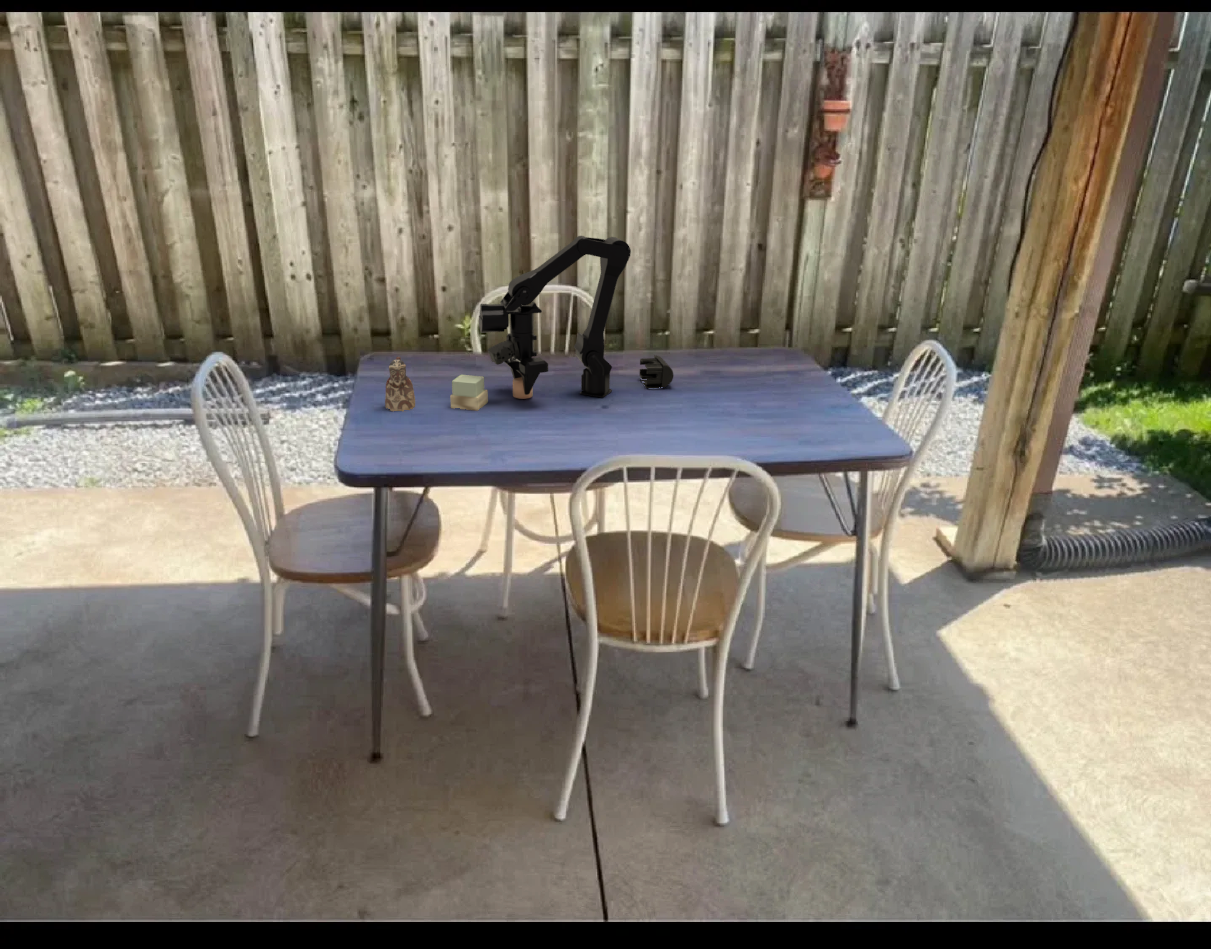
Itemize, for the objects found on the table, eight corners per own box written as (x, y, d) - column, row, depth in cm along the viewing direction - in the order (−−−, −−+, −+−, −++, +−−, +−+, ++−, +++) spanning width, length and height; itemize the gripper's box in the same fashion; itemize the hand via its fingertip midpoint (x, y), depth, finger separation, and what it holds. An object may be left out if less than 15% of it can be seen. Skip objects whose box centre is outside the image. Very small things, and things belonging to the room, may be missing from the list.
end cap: (672, 389, 232) (674, 364, 229) (646, 390, 230) (648, 365, 228) (664, 378, 241) (665, 354, 238) (638, 379, 239) (639, 355, 237)
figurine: (382, 411, 209) (378, 362, 205) (389, 401, 216) (386, 354, 211) (411, 412, 209) (408, 363, 205) (418, 402, 216) (415, 355, 211)
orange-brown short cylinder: (536, 394, 223) (536, 379, 221) (527, 399, 218) (526, 384, 217) (518, 391, 224) (518, 376, 223) (509, 396, 220) (509, 381, 218)
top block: (484, 390, 216) (483, 376, 215) (476, 397, 211) (475, 383, 209) (461, 388, 217) (460, 374, 216) (452, 395, 212) (451, 381, 210)
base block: (487, 403, 218) (487, 389, 216) (478, 411, 212) (477, 398, 210) (461, 400, 219) (460, 387, 218) (450, 409, 213) (450, 395, 212)
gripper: (477, 325, 219) (479, 385, 225) (505, 342, 204) (507, 406, 210) (518, 321, 224) (519, 380, 230) (549, 338, 209) (549, 400, 215)
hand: (522, 391), depth 221 cm, fingers closed on orange-brown short cylinder, 5 cm apart
